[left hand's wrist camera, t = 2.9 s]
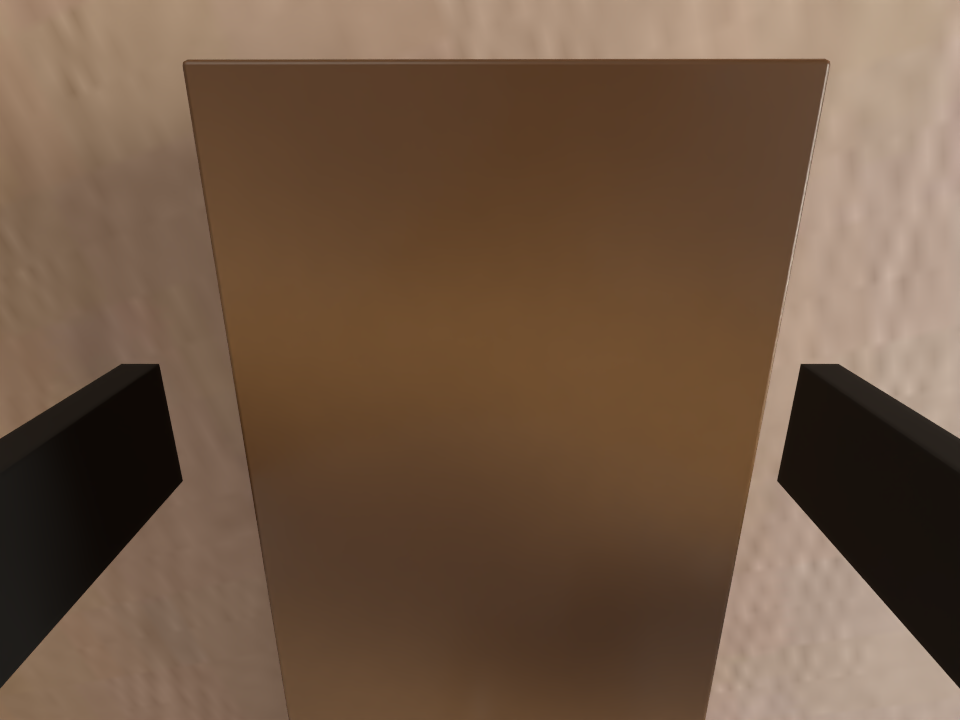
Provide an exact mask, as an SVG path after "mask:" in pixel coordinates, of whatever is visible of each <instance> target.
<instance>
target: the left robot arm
mask: <svg viewBox="0 0 960 720" xmlns="http://www.w3.org/2000/svg"><path fill="white" fill-rule="evenodd" d="M182 481H183V480H182V475H181V470H180V465H179V460H178V455H177V450H176V445H175V440H174V435H173V430H172V425H171V421H170V416H169V411H168V406H167V401H166V396H165V391H164V386H163V381H162V376H161V371H160V366H159V364H121V365H119V366H118V367H116V368H114V369H113V370H111V371H109V372H108V373H106V374H105V375H103V376H101V377H100V378H98V379H97V380H95V381H93V382H92V383H90V384H88V385H87V386H85V387H84V388H82V389H80V390H79V391H77V392H75V393H74V394H72V395H71V396H69V397H67V398H66V399H64V400H62V401H61V402H59V403H58V404H56V405H54V406H53V407H51V408H49V409H48V410H46V411H45V412H43V413H41V414H40V415H38V416H37V417H35V418H33V419H32V420H30V421H28V422H27V423H25V424H24V425H22V426H20V427H19V428H17V429H15V430H14V431H12V432H11V433H9V434H7V435H6V436H4V437H2V438H1V439H0V688H1V687H2V686H3V685H4V683H5V682H6V681H7V680H8V679H9V678H10V677H11V676H12V674H13V673H14V672H15V671H16V670H17V669H18V668H19V666H20V665H21V664H22V663H23V662H24V661H25V660H26V658H27V657H28V656H29V655H30V654H31V653H32V652H33V651H34V649H35V648H36V647H37V646H38V645H39V644H40V643H41V641H42V640H43V639H44V638H45V637H46V636H47V635H48V633H49V632H50V631H51V630H52V629H53V628H54V627H55V625H56V624H57V623H58V622H59V621H60V620H61V619H62V618H63V616H64V615H65V614H66V613H67V612H68V611H69V610H70V608H71V607H72V606H73V605H74V604H75V603H76V602H77V600H78V599H79V598H80V597H81V596H82V595H83V594H84V593H85V591H86V590H87V589H88V588H89V587H90V586H91V585H92V583H93V582H94V581H95V580H96V579H97V578H98V577H99V575H100V574H101V573H102V572H103V571H104V570H105V569H106V568H107V566H108V565H109V564H110V563H111V562H112V561H113V560H114V558H115V557H116V556H117V555H118V554H119V553H120V552H121V550H122V549H123V548H124V547H125V546H126V545H127V544H128V543H129V541H130V540H131V539H132V538H133V537H134V536H135V535H136V533H137V532H138V531H139V530H140V529H141V528H142V527H143V525H144V524H145V523H146V522H147V521H148V520H149V519H150V518H151V516H152V515H153V514H154V513H155V512H156V511H157V510H158V508H159V507H160V506H161V505H162V504H163V503H164V502H165V500H166V499H167V498H168V497H169V496H170V495H171V494H172V493H173V491H174V490H175V489H176V488H177V487H178V486H179V485H180V483H181V482H182ZM777 481H778V482H779V483H780V485H781V486H782V487H783V488H784V489H785V490H786V491H787V493H788V494H789V495H790V496H791V497H792V498H793V499H794V500H795V502H796V503H797V504H798V505H799V506H800V507H801V508H802V510H803V511H804V512H805V513H806V514H807V515H808V516H809V518H810V519H811V520H812V521H813V522H814V523H815V524H816V525H817V527H818V528H819V529H820V530H821V531H822V532H823V533H824V535H825V536H826V537H827V538H828V539H829V540H830V541H831V543H832V544H833V545H834V546H835V547H836V548H837V549H838V550H839V552H840V553H841V554H842V555H843V556H844V557H845V558H846V560H847V561H848V562H849V563H850V564H851V565H852V566H853V568H854V569H855V570H856V571H857V572H858V573H859V574H860V575H861V577H862V578H863V579H864V580H865V581H866V582H867V583H868V585H869V586H870V587H871V588H872V589H873V590H874V591H875V593H876V594H877V595H878V596H879V597H880V598H881V599H882V600H883V602H884V603H885V604H886V605H887V606H888V607H889V608H890V610H891V611H892V612H893V613H894V614H895V615H896V616H897V618H898V619H899V620H900V621H901V622H902V623H903V624H904V626H905V627H906V628H907V629H908V630H909V631H910V632H911V633H912V635H913V636H914V637H915V638H916V639H917V640H918V641H919V643H920V644H921V645H922V646H923V647H924V648H925V649H926V651H927V652H928V653H929V654H930V655H931V656H932V657H933V658H934V660H935V661H936V662H937V663H938V664H939V665H940V666H941V668H942V669H943V670H944V671H945V672H946V673H947V674H948V676H949V677H950V678H951V679H952V680H953V681H954V682H955V683H956V685H957V686H958V687H959V688H960V439H959V438H958V437H956V436H954V435H953V434H951V433H949V432H948V431H946V430H945V429H943V428H941V427H940V426H938V425H936V424H935V423H933V422H932V421H930V420H928V419H927V418H925V417H923V416H922V415H920V414H919V413H917V412H915V411H914V410H912V409H911V408H909V407H907V406H906V405H904V404H902V403H901V402H899V401H898V400H896V399H894V398H893V397H891V396H889V395H888V394H886V393H885V392H883V391H881V390H880V389H878V388H876V387H875V386H873V385H872V384H870V383H868V382H867V381H865V380H863V379H862V378H860V377H859V376H857V375H855V374H854V373H852V372H851V371H849V370H847V369H846V368H844V367H842V366H841V365H839V364H801V366H800V371H799V376H798V381H797V386H796V391H795V396H794V401H793V406H792V411H791V416H790V421H789V425H788V430H787V435H786V440H785V445H784V450H783V455H782V460H781V465H780V470H779V475H778V480H777Z"/></svg>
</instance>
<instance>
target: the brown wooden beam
mask: <svg viewBox="0 0 960 720" xmlns="http://www.w3.org/2000/svg"><path fill="white" fill-rule="evenodd" d="M829 68H830V61H828V60H826V59H350V60H186V61H184V62H183V71H184V77H185V83H186V89H187V95H188V101H189V108H190V114H191V120H192V126H193V132H194V138H195V144H196V151H197V157H198V163H199V169H200V175H201V181H202V188H203V194H204V200H205V206H206V212H207V218H208V224H209V231H210V237H211V243H212V249H213V255H214V261H215V267H216V274H217V280H218V286H219V292H220V298H221V304H222V311H223V317H224V323H225V329H226V335H227V341H228V347H229V354H230V360H231V366H232V372H233V378H234V384H235V390H236V397H237V403H238V409H239V415H240V421H241V427H242V434H243V440H244V446H245V452H246V458H247V464H248V470H249V477H250V483H251V489H252V495H253V501H254V507H255V514H256V520H257V526H258V532H259V538H260V544H261V550H262V557H263V563H264V569H265V575H266V581H267V587H268V593H269V600H270V606H271V612H272V618H273V624H274V630H275V637H276V643H277V649H278V655H279V661H280V667H281V673H282V680H283V686H284V692H285V698H286V704H287V710H288V717H289V720H705V717H706V712H707V706H708V701H709V696H710V691H711V685H712V680H713V675H714V670H715V664H716V659H717V654H718V649H719V644H720V638H721V633H722V628H723V623H724V617H725V612H726V607H727V602H728V597H729V591H730V586H731V581H732V576H733V570H734V565H735V560H736V555H737V549H738V544H739V539H740V534H741V529H742V523H743V518H744V513H745V508H746V502H747V497H748V492H749V487H750V481H751V476H752V471H753V466H754V461H755V455H756V450H757V445H758V440H759V434H760V429H761V424H762V419H763V414H764V408H765V403H766V398H767V393H768V387H769V382H770V377H771V372H772V366H773V361H774V356H775V351H776V346H777V340H778V335H779V330H780V325H781V319H782V314H783V309H784V304H785V298H786V293H787V288H788V283H789V278H790V272H791V267H792V262H793V257H794V251H795V246H796V241H797V236H798V230H799V225H800V220H801V215H802V210H803V204H804V199H805V194H806V189H807V183H808V178H809V173H810V168H811V163H812V157H813V152H814V147H815V142H816V136H817V131H818V126H819V121H820V115H821V110H822V105H823V100H824V95H825V89H826V84H827V79H828V74H829Z"/></svg>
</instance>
